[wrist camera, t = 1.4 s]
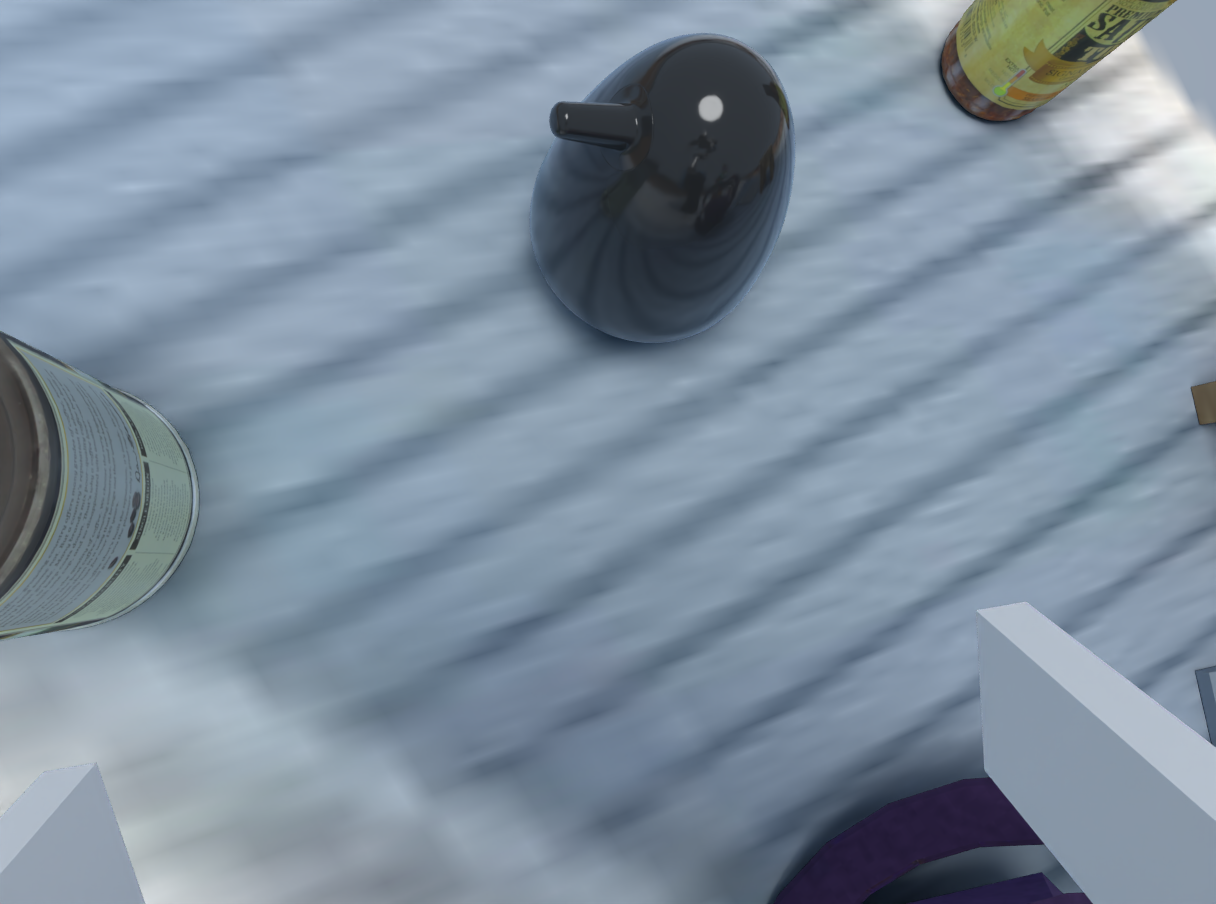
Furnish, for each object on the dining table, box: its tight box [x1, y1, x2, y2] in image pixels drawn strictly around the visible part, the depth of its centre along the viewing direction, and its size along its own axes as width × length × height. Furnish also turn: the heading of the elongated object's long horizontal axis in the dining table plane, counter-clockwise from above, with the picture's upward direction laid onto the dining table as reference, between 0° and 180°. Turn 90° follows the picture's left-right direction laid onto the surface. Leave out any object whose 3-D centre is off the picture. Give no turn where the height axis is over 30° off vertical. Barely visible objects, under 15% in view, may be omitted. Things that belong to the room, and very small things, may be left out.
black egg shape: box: [530, 33, 795, 343], centre depth 33 cm, size 10×10×15 cm
